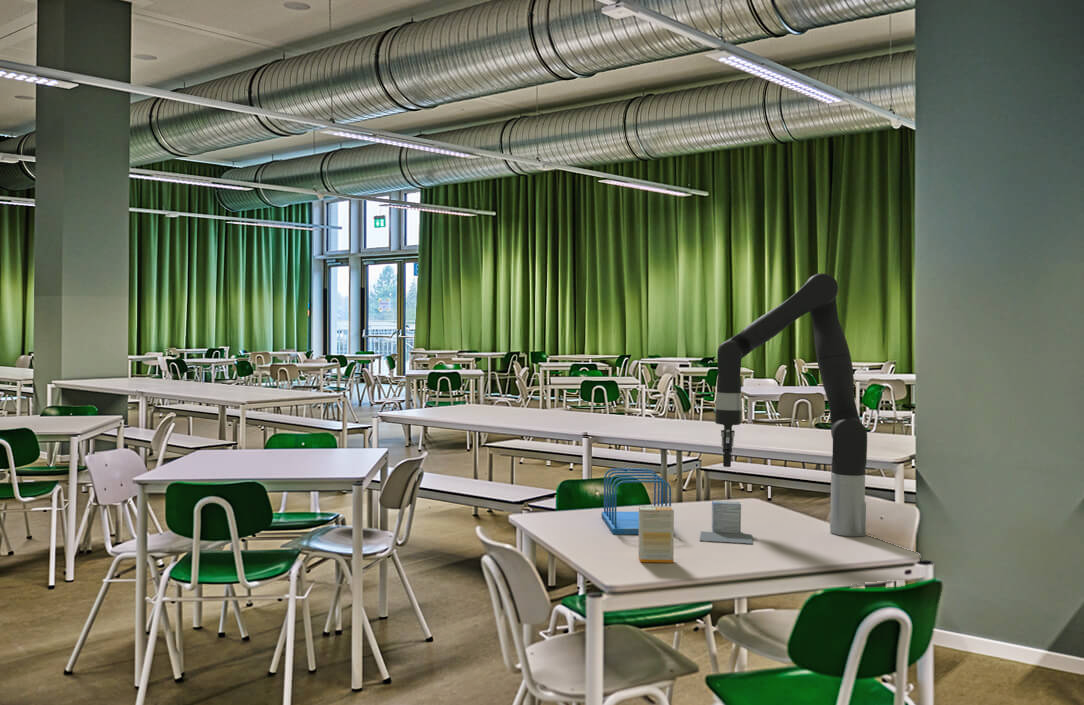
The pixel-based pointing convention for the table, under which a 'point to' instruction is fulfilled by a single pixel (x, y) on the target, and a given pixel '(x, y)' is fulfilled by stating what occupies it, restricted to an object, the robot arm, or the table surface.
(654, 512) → the supplement box
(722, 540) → the felt mat
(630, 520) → the file sorter
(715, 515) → the medicine box
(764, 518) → the table surface
